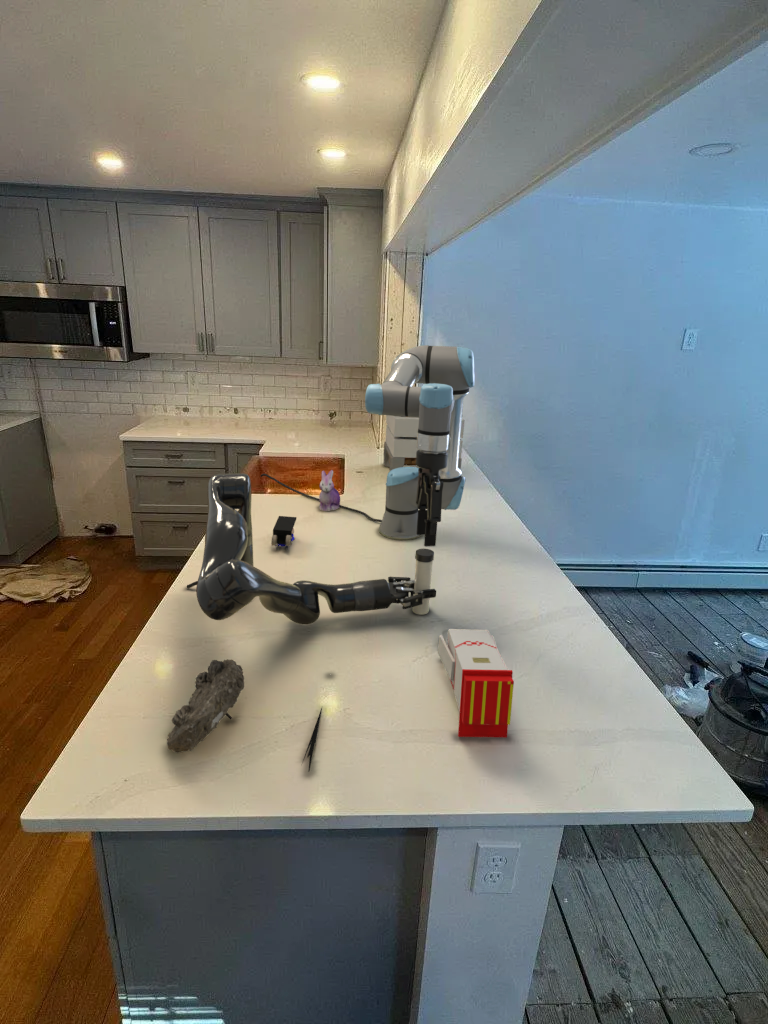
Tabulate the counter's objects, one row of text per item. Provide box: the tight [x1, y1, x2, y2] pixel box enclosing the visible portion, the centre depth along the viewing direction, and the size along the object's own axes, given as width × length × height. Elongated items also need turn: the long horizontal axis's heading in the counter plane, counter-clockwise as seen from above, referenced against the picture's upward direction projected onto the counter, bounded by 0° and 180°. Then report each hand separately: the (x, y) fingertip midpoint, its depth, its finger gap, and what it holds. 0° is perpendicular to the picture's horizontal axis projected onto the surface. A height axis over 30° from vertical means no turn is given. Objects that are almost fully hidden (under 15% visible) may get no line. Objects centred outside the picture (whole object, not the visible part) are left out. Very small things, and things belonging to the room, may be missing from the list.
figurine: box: [318, 469, 341, 512], centre depth 220 cm, size 9×10×15 cm
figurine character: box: [270, 515, 297, 551], centre depth 186 cm, size 7×8×15 cm
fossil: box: [166, 658, 245, 754], centre depth 106 cm, size 22×10×15 cm
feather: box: [301, 673, 332, 771], centre depth 108 cm, size 2×28×2 cm
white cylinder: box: [412, 559, 434, 616], centre depth 147 cm, size 4×4×16 cm
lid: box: [414, 548, 435, 562], centre depth 144 cm, size 5×5×2 cm
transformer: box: [383, 415, 465, 472], centre depth 268 cm, size 34×33×41 cm
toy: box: [437, 628, 515, 738], centre depth 117 cm, size 12×13×30 cm
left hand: (431, 588), depth 148 cm, fingers closed on white cylinder, 4 cm apart
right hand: (425, 539), depth 143 cm, fingers open, 7 cm apart
